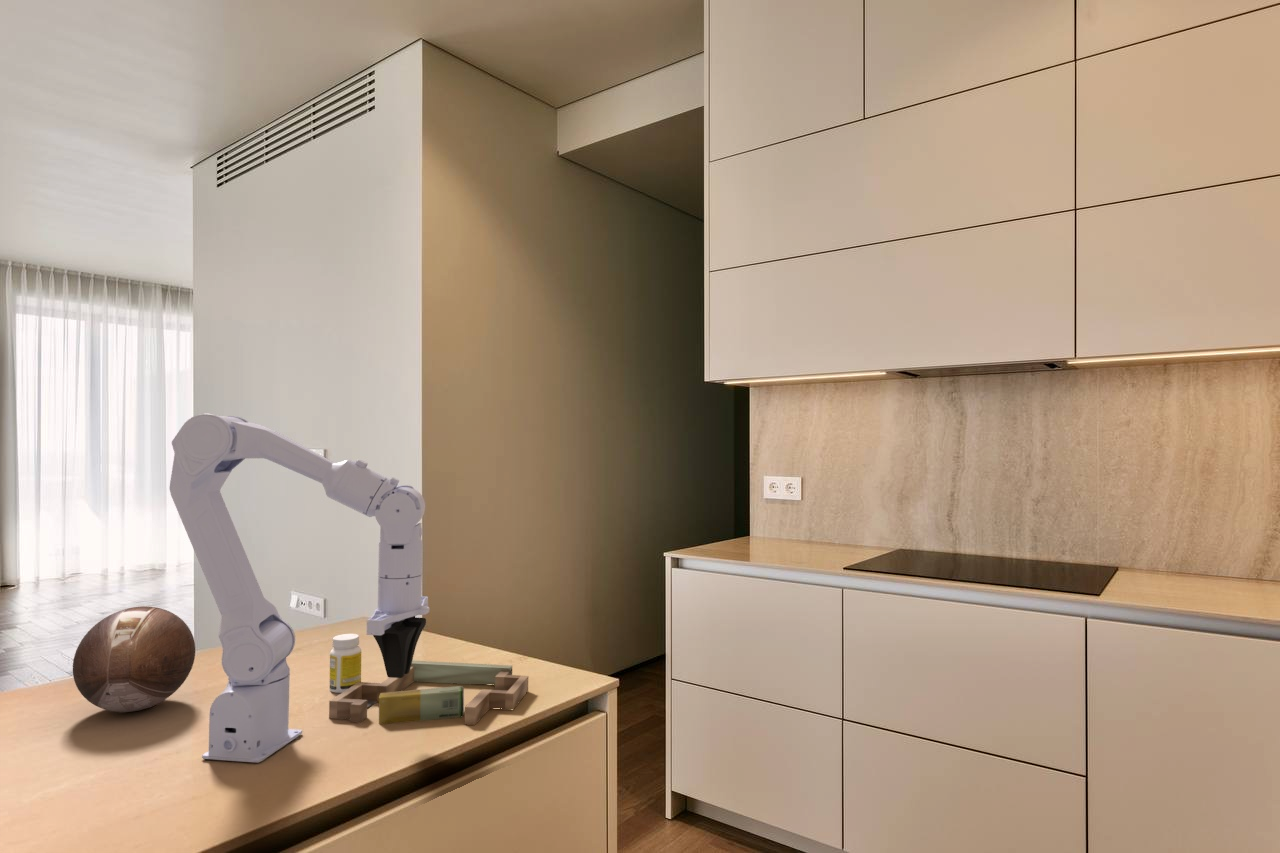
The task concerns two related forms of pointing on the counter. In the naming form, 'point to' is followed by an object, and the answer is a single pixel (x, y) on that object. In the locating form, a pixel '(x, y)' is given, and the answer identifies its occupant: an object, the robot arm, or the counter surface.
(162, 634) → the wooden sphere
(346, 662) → the supplement bottle
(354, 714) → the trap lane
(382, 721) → the medication box
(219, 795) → the counter surface
